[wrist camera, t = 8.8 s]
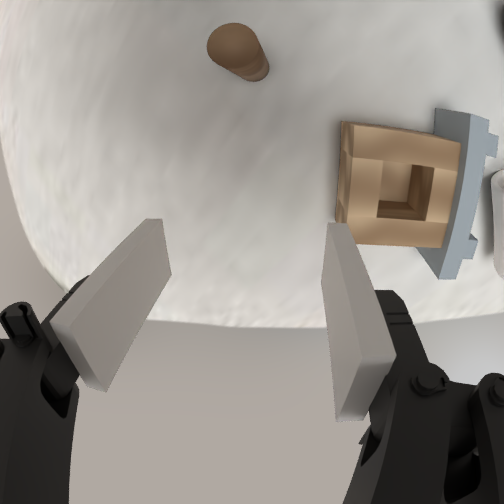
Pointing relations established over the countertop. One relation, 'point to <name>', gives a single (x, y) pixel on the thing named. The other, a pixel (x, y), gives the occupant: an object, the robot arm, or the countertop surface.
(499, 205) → the mug
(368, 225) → the block
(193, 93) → the countertop surface
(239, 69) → the dowel
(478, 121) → the backstop wall
